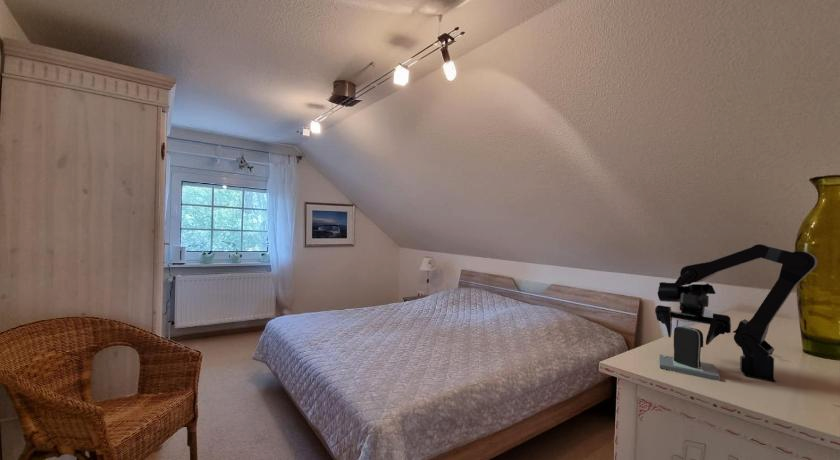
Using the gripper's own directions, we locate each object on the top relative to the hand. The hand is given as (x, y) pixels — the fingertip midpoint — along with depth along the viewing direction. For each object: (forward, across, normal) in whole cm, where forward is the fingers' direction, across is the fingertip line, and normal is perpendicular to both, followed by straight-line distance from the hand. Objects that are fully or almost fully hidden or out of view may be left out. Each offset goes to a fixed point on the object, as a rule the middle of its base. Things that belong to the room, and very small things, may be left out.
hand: (687, 340), depth 106 cm
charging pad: (+6, 0, +7) cm, 9 cm away
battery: (+5, 0, +6) cm, 8 cm away
